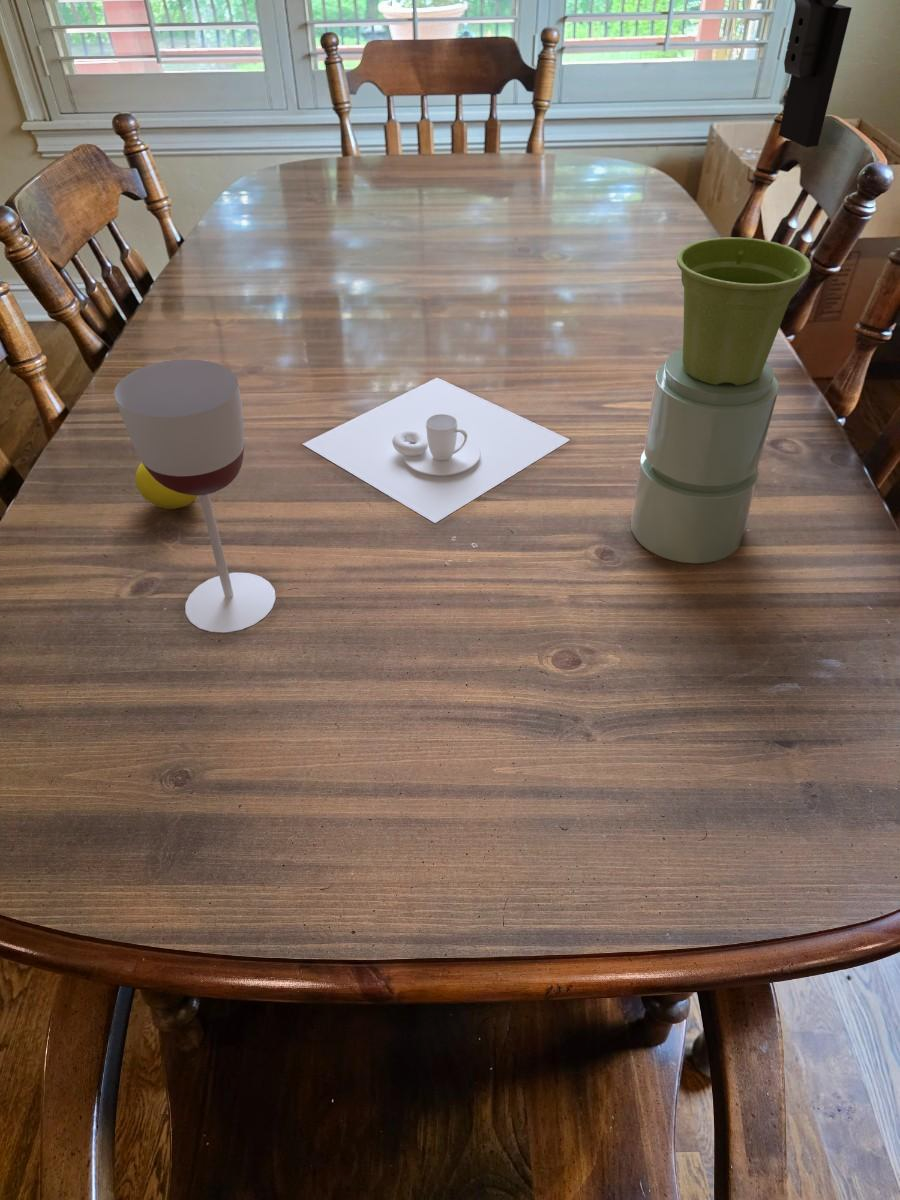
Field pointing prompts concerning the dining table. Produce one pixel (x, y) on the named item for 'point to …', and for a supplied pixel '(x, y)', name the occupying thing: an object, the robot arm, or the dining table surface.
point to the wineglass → (196, 467)
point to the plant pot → (735, 304)
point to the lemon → (160, 491)
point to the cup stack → (700, 463)
